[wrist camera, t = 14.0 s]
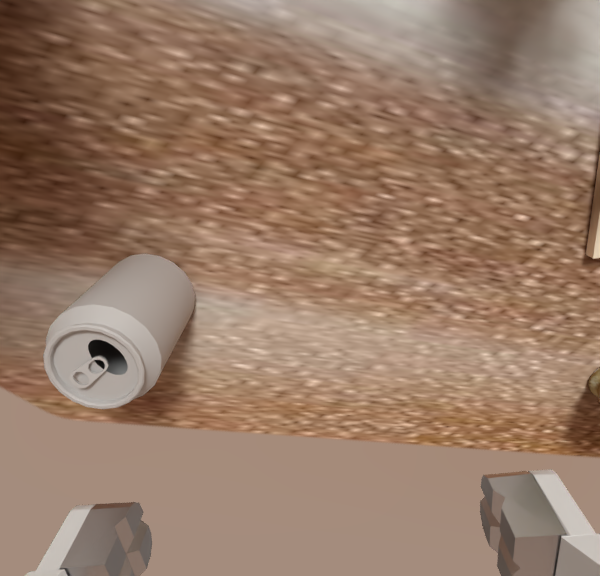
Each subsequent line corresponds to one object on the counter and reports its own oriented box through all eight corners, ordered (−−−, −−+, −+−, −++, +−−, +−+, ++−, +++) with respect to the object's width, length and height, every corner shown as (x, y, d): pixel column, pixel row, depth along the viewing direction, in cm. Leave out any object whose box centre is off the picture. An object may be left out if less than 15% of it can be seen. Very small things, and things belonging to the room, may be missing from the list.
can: (215, 300, 39) (178, 384, 28) (152, 343, 40) (94, 437, 30) (156, 232, 36) (90, 294, 25) (92, 281, 38) (4, 358, 27)
